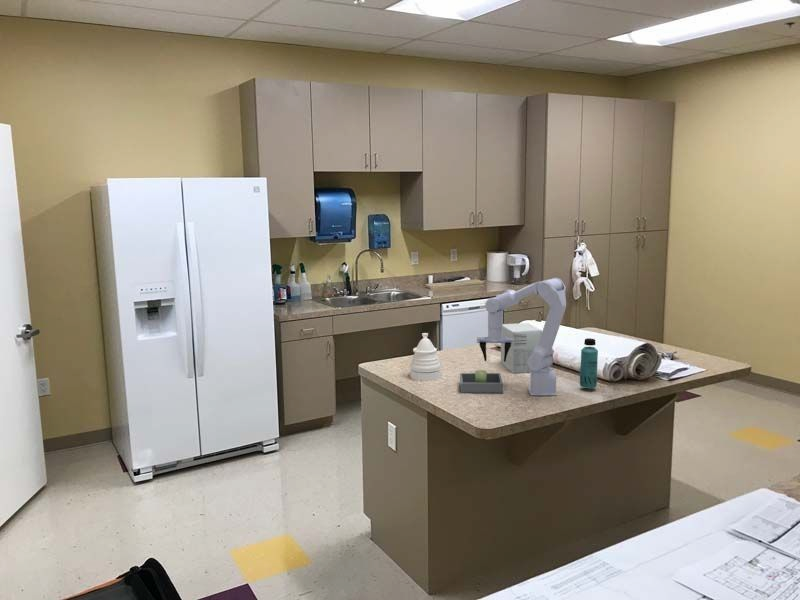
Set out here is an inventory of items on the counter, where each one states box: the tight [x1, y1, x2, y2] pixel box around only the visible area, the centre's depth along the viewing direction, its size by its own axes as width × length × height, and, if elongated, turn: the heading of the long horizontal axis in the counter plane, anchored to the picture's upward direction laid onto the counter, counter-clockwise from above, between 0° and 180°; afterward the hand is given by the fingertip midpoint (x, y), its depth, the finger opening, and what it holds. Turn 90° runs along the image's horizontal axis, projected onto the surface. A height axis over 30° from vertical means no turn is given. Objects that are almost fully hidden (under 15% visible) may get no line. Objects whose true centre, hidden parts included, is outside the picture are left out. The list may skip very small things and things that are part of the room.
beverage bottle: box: [579, 337, 599, 389], centre depth 249 cm, size 6×7×20 cm
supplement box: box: [500, 322, 543, 374], centre depth 282 cm, size 17×13×18 cm
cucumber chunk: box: [474, 369, 488, 383], centre depth 255 cm, size 4×4×6 cm
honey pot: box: [409, 332, 442, 382], centre depth 271 cm, size 13×13×18 cm
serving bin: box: [459, 372, 504, 395], centre depth 255 cm, size 16×14×4 cm
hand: (495, 360), depth 259 cm, fingers open, 7 cm apart
